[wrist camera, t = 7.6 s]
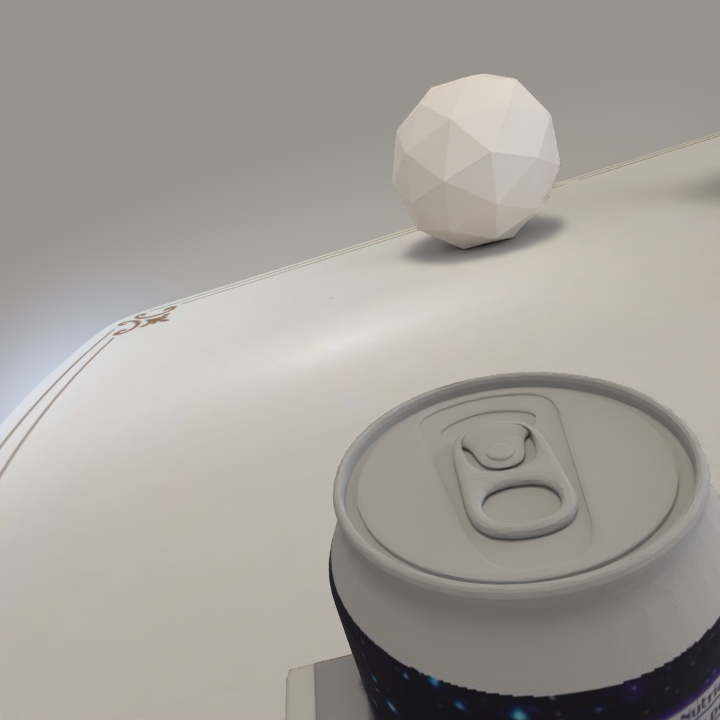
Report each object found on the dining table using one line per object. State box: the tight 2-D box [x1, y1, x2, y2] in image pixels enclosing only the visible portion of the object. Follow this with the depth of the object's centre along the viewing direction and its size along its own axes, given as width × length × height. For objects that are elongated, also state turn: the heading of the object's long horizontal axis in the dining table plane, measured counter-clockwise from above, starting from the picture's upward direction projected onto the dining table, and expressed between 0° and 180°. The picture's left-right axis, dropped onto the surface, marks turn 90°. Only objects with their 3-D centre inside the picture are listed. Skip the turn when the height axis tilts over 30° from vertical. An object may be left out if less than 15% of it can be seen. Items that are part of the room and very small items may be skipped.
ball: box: [392, 74, 560, 249], centre depth 66 cm, size 19×20×20 cm
